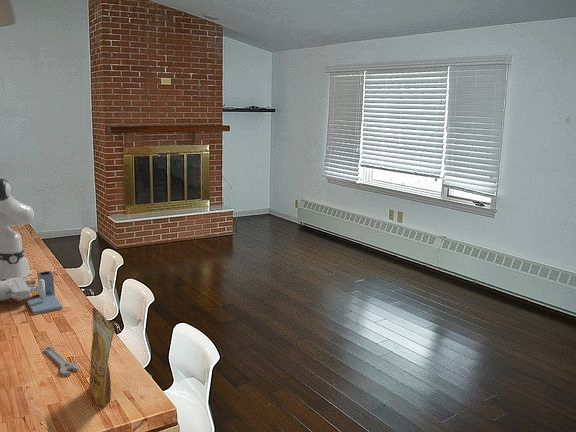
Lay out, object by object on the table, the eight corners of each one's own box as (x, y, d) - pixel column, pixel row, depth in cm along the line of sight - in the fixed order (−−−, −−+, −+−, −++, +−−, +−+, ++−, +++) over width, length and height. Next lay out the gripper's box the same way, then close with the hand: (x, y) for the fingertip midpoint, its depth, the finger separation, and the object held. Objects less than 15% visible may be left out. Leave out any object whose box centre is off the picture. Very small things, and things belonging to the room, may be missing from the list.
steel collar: (39, 294, 266) (37, 272, 263) (52, 291, 269) (50, 270, 266) (41, 298, 261) (39, 276, 258) (54, 295, 264) (53, 274, 262)
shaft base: (26, 303, 255) (24, 277, 252) (54, 297, 261) (52, 273, 258) (33, 314, 242) (31, 288, 239) (62, 309, 249) (60, 283, 246)
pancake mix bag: (106, 378, 191) (101, 304, 184) (119, 406, 175) (115, 325, 168) (86, 383, 187) (81, 307, 181) (98, 411, 171) (92, 329, 165)
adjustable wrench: (43, 351, 210) (43, 347, 210) (60, 347, 214) (60, 343, 214) (62, 378, 191) (62, 373, 191) (81, 373, 195) (81, 368, 194)
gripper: (8, 290, 245) (41, 285, 252) (1, 277, 261) (32, 272, 269) (9, 304, 246) (42, 297, 254) (2, 290, 262) (33, 284, 270)
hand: (37, 284), depth 261 cm, fingers open, 8 cm apart
